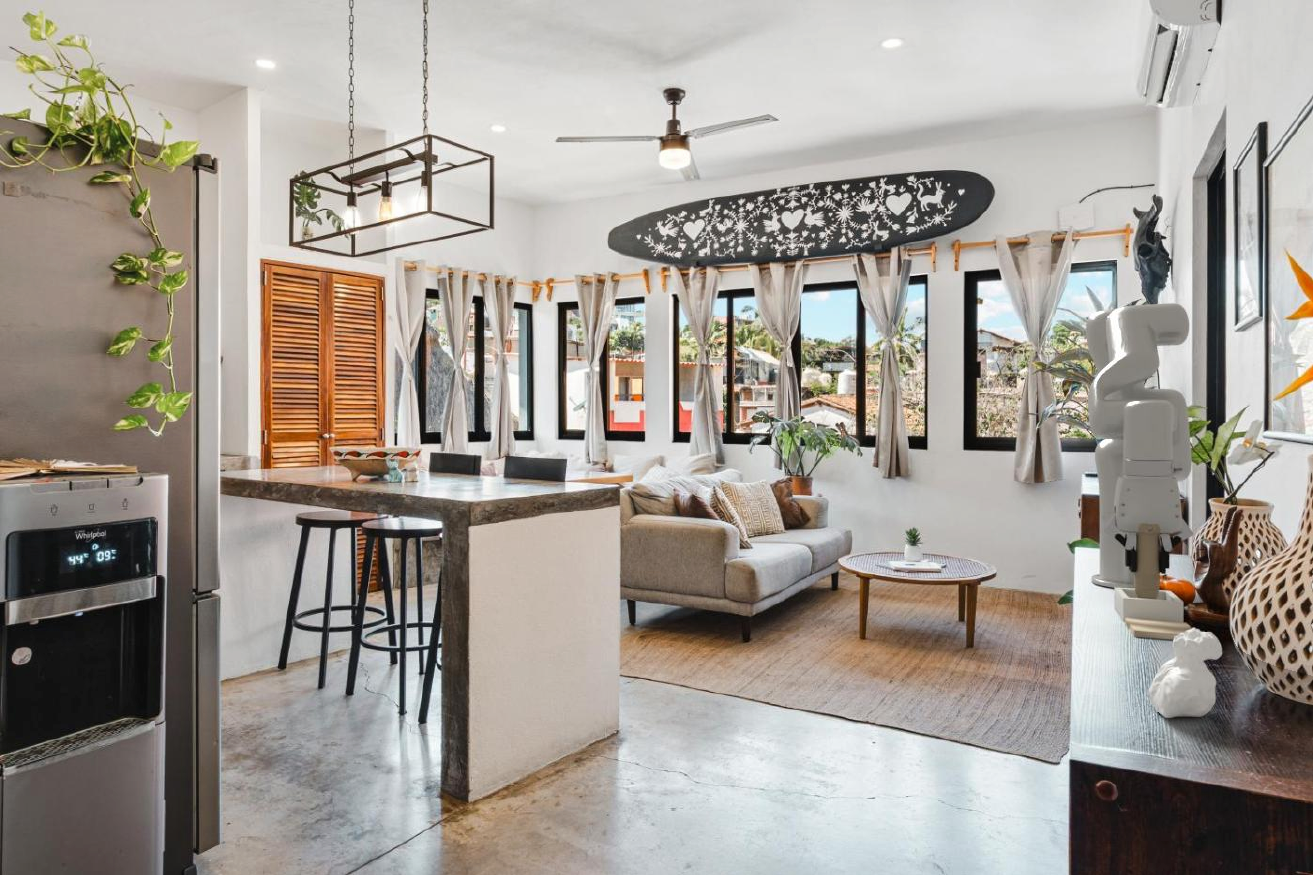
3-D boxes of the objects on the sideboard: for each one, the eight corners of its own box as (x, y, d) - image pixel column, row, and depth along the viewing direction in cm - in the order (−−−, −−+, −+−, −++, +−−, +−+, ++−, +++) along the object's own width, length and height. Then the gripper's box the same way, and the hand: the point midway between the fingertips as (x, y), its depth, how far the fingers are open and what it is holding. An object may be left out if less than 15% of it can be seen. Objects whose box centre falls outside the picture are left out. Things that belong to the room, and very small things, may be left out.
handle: (1170, 610, 142) (1171, 524, 142) (1128, 607, 145) (1129, 523, 144) (1164, 603, 147) (1165, 521, 146) (1123, 601, 149) (1124, 519, 148)
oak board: (1125, 623, 140) (1125, 618, 140) (1186, 628, 137) (1186, 622, 137) (1134, 636, 132) (1134, 630, 132) (1199, 641, 128) (1199, 635, 128)
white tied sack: (1184, 747, 93) (1259, 680, 89) (1123, 697, 96) (1194, 630, 92) (1185, 715, 103) (1253, 653, 99) (1130, 671, 106) (1194, 609, 102)
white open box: (1114, 608, 151) (1114, 587, 151) (1170, 612, 148) (1170, 590, 148) (1123, 621, 142) (1123, 598, 142) (1183, 625, 139) (1183, 602, 139)
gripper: (1197, 468, 145) (1196, 570, 146) (1092, 467, 151) (1091, 565, 152) (1208, 472, 138) (1207, 578, 139) (1097, 470, 144) (1097, 573, 145)
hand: (1146, 570), depth 145 cm, fingers closed on handle, 3 cm apart
